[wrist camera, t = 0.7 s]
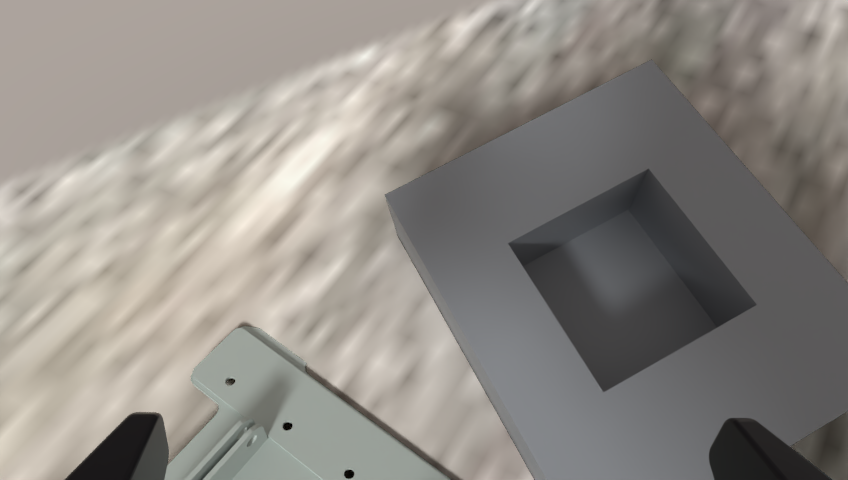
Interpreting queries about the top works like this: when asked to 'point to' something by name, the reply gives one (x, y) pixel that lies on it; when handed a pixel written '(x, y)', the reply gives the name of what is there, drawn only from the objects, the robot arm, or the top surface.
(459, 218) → the well block
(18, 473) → the top surface
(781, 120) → the top surface
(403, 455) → the metal bracket
